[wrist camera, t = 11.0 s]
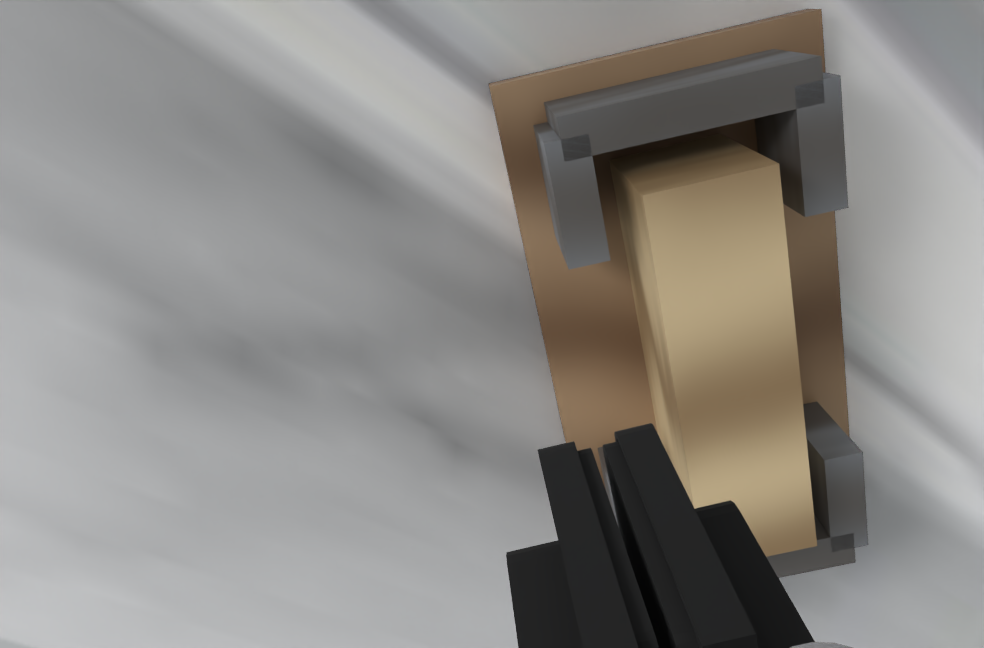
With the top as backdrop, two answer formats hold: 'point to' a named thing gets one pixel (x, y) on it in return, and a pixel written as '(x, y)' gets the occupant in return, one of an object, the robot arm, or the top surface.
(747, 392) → the beige rectangular block
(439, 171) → the top surface
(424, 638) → the top surface
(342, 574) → the top surface
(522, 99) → the rail
